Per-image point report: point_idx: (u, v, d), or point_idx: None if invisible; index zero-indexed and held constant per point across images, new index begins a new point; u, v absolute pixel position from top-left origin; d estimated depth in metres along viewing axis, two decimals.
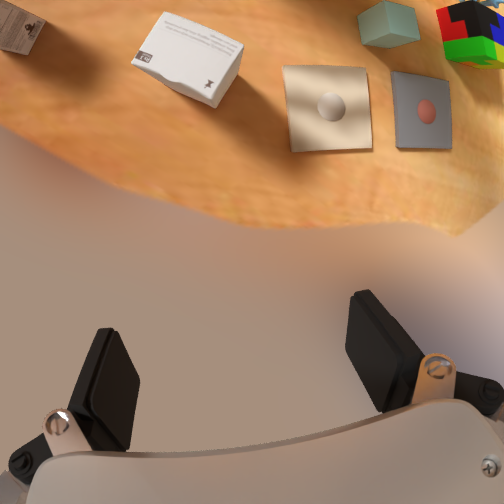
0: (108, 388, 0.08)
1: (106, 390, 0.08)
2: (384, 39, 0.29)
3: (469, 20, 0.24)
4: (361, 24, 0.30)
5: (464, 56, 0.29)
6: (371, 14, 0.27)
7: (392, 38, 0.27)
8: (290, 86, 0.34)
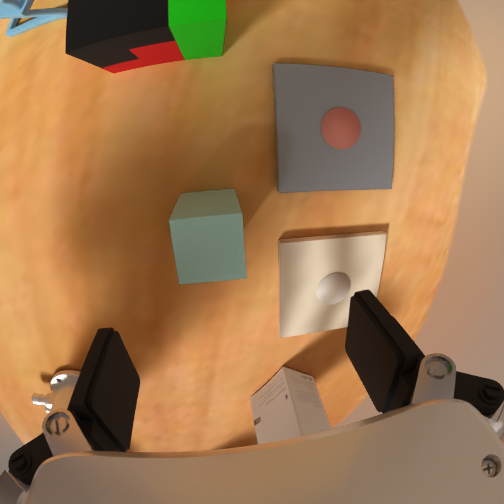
0: (108, 388, 0.08)
1: (106, 390, 0.08)
2: None
3: (128, 44, 0.14)
4: None
5: (222, 41, 0.17)
6: None
7: None
8: (305, 330, 0.34)
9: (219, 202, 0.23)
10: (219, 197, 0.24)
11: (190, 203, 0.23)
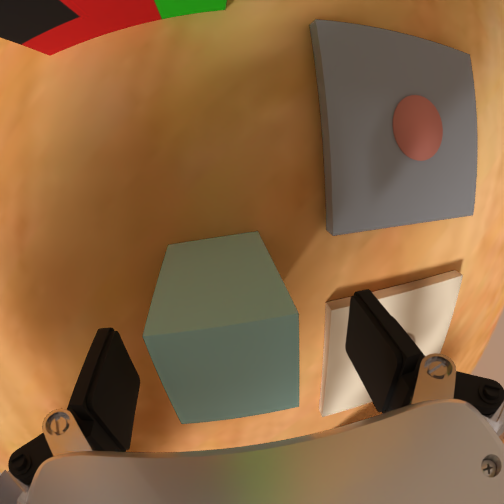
0: (108, 388, 0.08)
1: (106, 390, 0.08)
2: None
3: None
4: None
5: None
6: None
7: None
8: (354, 404, 0.23)
9: (240, 273, 0.12)
10: (237, 257, 0.14)
11: (185, 275, 0.12)
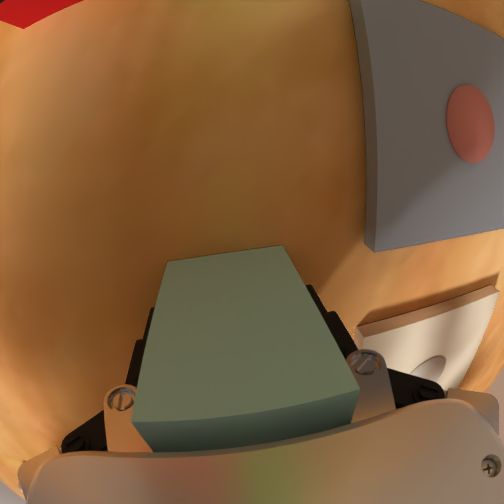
0: None
1: None
2: None
3: None
4: None
5: None
6: None
7: None
8: None
9: (267, 314, 0.09)
10: (259, 286, 0.10)
11: (189, 314, 0.09)
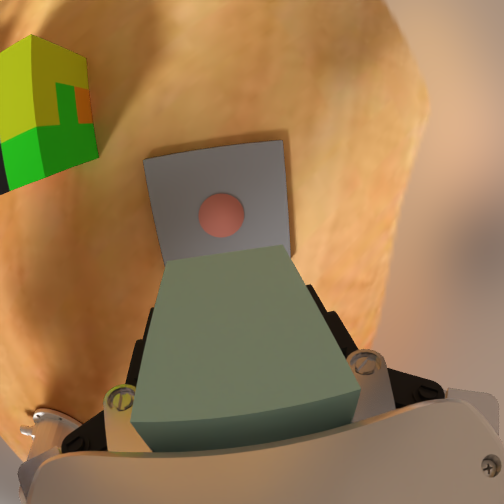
0: None
1: None
2: None
3: None
4: None
5: (76, 164, 0.19)
6: None
7: None
8: None
9: (267, 314, 0.08)
10: (260, 285, 0.10)
11: (189, 314, 0.09)
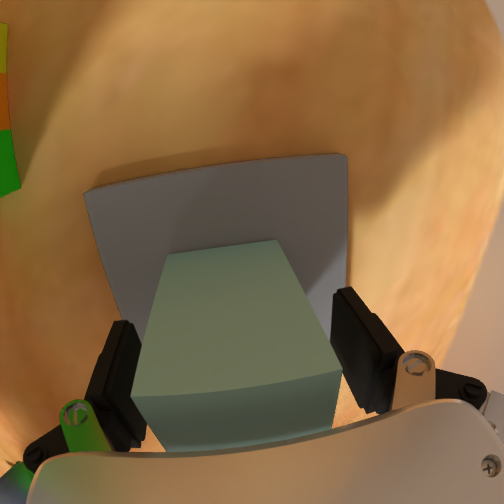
0: (125, 379, 0.09)
1: (124, 381, 0.08)
2: None
3: None
4: None
5: None
6: None
7: None
8: None
9: (259, 301, 0.09)
10: (253, 276, 0.11)
11: (187, 301, 0.10)
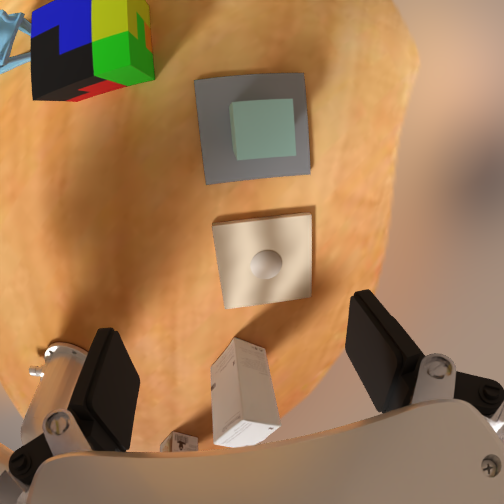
0: (108, 388, 0.08)
1: (106, 390, 0.08)
2: None
3: (74, 88, 0.20)
4: None
5: (143, 72, 0.23)
6: None
7: None
8: (246, 302, 0.40)
9: None
10: None
11: None
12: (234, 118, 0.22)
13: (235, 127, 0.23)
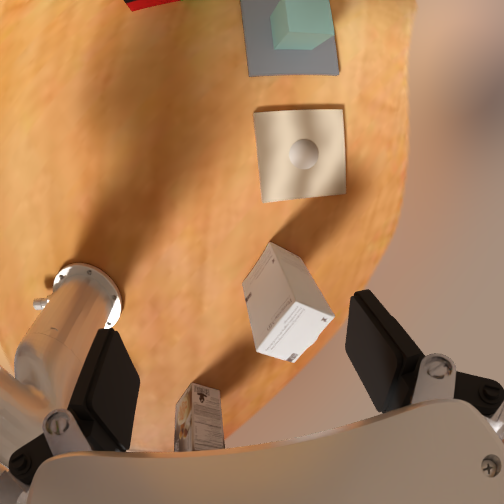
0: (108, 388, 0.08)
1: (106, 390, 0.08)
2: None
3: None
4: (288, 47, 0.30)
5: None
6: (290, 41, 0.27)
7: None
8: (284, 196, 0.39)
9: None
10: None
11: None
12: (286, 4, 0.22)
13: (287, 10, 0.22)
